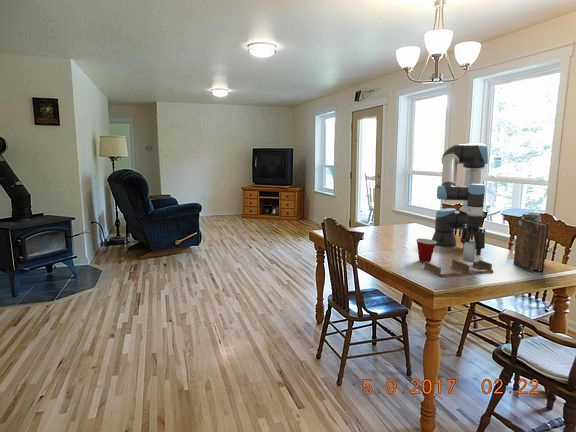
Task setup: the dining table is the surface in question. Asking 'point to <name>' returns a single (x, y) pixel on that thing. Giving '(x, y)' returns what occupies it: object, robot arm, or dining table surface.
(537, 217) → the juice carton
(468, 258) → the stoneware jar
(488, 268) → the comb rack
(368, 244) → the dining table surface
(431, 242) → the plastic cup
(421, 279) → the dining table surface
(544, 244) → the book
